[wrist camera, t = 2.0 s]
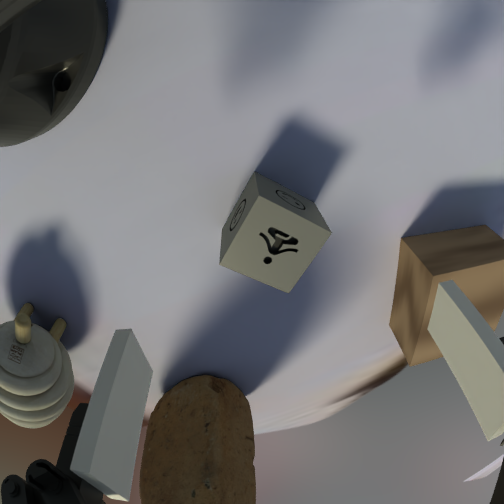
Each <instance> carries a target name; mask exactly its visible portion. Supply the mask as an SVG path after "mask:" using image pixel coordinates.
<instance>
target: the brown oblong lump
mask: <svg viewBox="0 0 504 504" xmlns="http://www.w3.org/2000/svg"><path fill="white" fill-rule="evenodd" d="M254 456H255V445H254V431H253V421H252V415H251V410H250V405H249V402H248V400H247V399H246V397H245V396H244V394H243V393H242V392H241V391H240V390H239V389H238V388H237V387H236V386H235V385H234V384H233V383H232V382H230V381H228V380H226V379H219V378H217V377H213V376H210V375H202V376H195V377H192V378H189V379H185V380H183V381H181V382H180V383H178V384H177V385H176V386H174V387H173V388H172V389H170V390H169V391H168V392H166V393H165V394H164V395H163V397H162V398H161V399H160V400H159V401H158V403H157V404H156V406H155V409H154V411H153V412H152V413H151V416H150V419H149V423H148V427H147V432H146V440H145V444H144V450H143V456H142V463H141V470H140V485H139V487H140V488H139V489H140V490H139V491H140V498H141V504H256V482H255V468H254V465H253V459H254Z"/></svg>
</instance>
